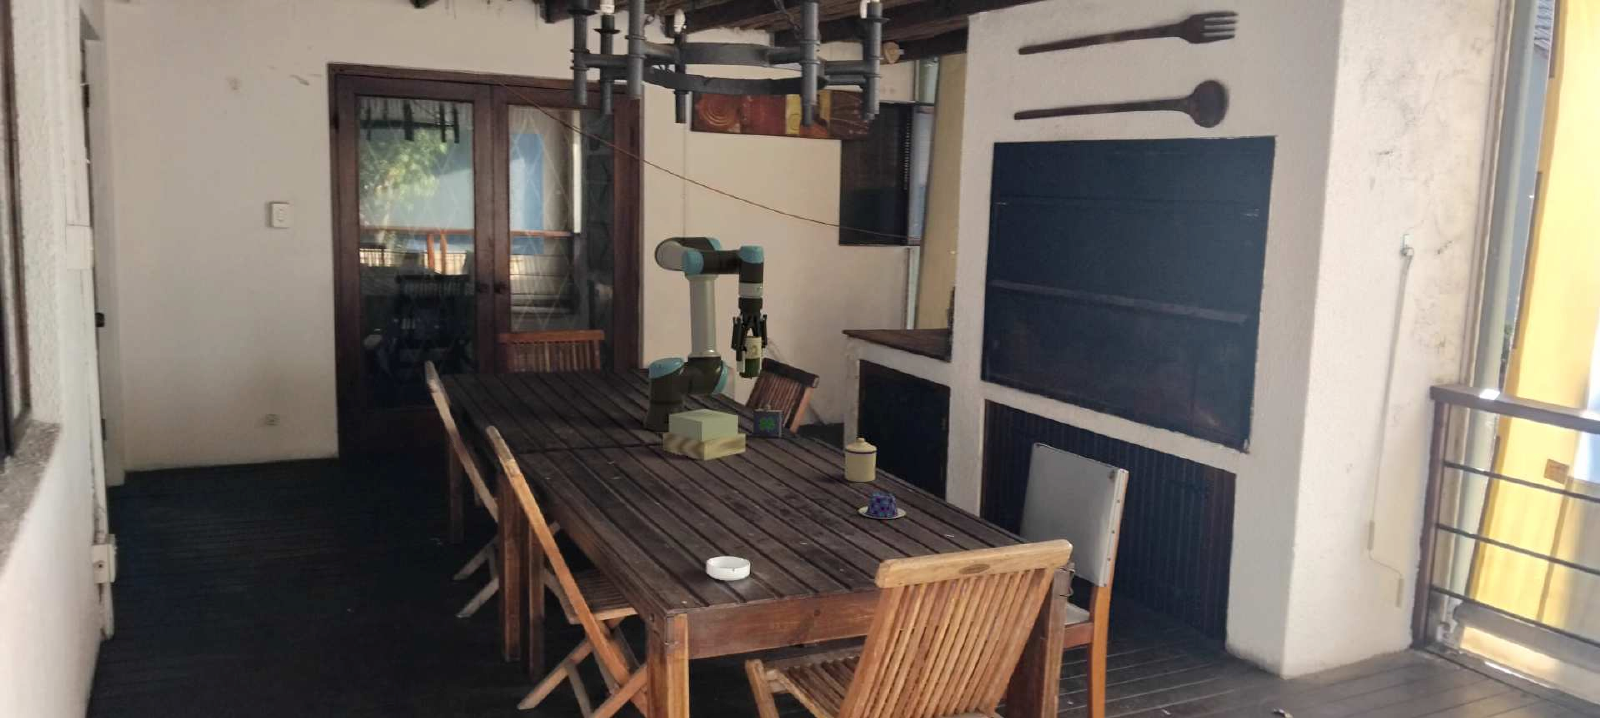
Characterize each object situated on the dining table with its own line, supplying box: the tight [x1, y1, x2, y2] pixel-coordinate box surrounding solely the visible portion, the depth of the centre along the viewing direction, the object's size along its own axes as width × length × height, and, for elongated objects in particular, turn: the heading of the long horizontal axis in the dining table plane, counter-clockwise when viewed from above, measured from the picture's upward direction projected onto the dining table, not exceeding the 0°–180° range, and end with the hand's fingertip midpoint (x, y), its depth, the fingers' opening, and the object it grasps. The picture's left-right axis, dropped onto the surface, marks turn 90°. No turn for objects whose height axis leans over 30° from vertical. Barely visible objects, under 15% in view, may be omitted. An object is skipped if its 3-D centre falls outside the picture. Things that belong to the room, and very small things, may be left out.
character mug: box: [738, 335, 761, 380], centre depth 367 cm, size 11×7×13 cm, turn 29°
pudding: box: [858, 491, 907, 520], centre depth 302 cm, size 12×12×5 cm
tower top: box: [668, 408, 739, 441], centre depth 368 cm, size 15×15×6 cm
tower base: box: [662, 432, 746, 461], centre depth 369 cm, size 18×18×6 cm
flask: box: [753, 404, 783, 439], centre depth 392 cm, size 9×3×11 cm, turn 87°
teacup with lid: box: [844, 437, 878, 483], centre depth 339 cm, size 12×9×12 cm
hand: (748, 370), depth 368 cm, fingers closed on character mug, 7 cm apart
